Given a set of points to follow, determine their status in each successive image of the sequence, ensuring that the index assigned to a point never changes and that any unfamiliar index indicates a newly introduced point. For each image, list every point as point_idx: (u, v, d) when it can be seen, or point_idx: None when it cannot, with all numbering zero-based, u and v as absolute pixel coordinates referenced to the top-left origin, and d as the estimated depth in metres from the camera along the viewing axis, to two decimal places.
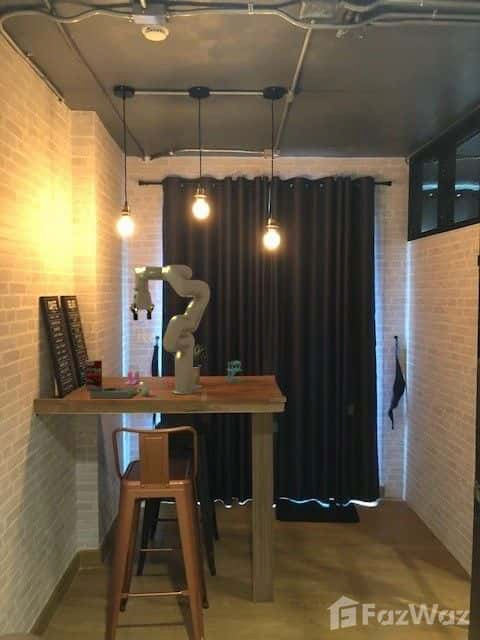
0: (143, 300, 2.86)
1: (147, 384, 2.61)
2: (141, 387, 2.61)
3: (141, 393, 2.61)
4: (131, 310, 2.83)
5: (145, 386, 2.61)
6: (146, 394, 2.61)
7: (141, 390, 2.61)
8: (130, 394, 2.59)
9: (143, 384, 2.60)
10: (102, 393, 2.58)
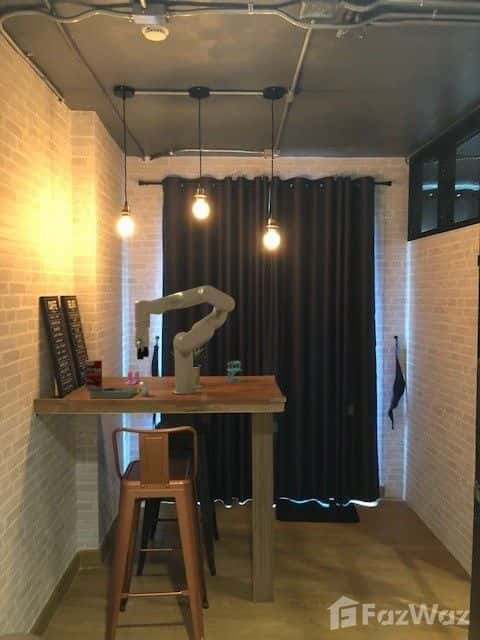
0: None
1: (147, 384, 2.61)
2: (141, 387, 2.61)
3: (141, 393, 2.61)
4: (147, 345, 2.69)
5: (145, 386, 2.61)
6: (146, 394, 2.61)
7: (141, 390, 2.61)
8: (130, 394, 2.59)
9: (143, 384, 2.60)
10: (102, 393, 2.58)
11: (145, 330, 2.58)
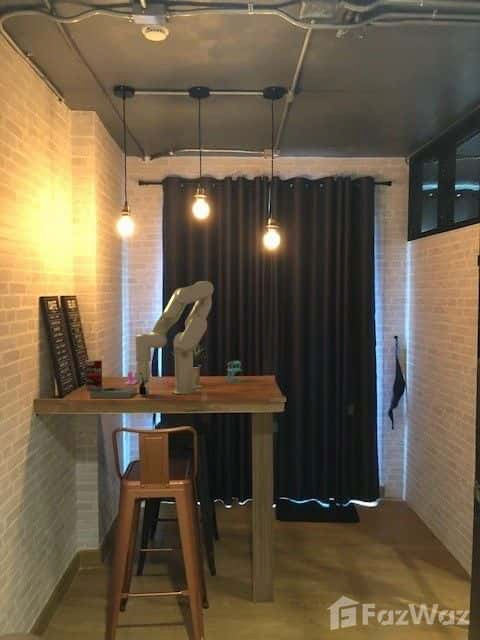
0: None
1: (147, 384, 2.61)
2: None
3: None
4: None
5: (145, 386, 2.61)
6: (146, 394, 2.61)
7: None
8: (130, 394, 2.59)
9: None
10: (102, 393, 2.58)
11: (146, 364, 2.59)
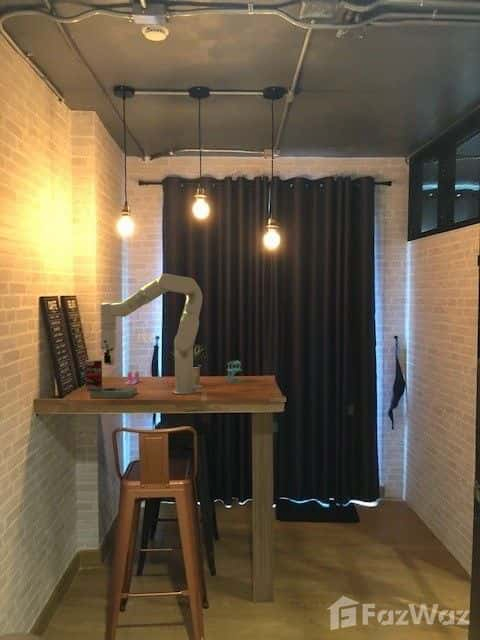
0: None
1: (112, 352, 2.62)
2: None
3: None
4: None
5: (110, 354, 2.61)
6: (111, 362, 2.62)
7: None
8: (130, 394, 2.59)
9: None
10: (102, 393, 2.58)
11: (111, 332, 2.60)
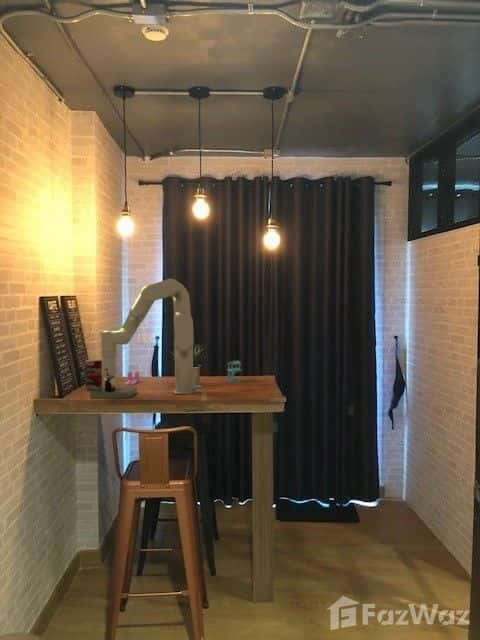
0: None
1: (113, 380, 2.63)
2: None
3: None
4: None
5: None
6: (112, 390, 2.63)
7: None
8: (130, 394, 2.59)
9: None
10: (102, 393, 2.58)
11: (111, 360, 2.61)
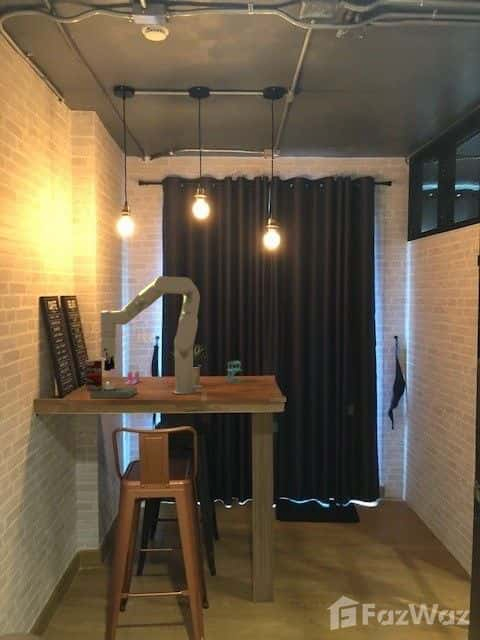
0: None
1: (113, 384, 2.63)
2: (107, 387, 2.62)
3: None
4: None
5: (111, 386, 2.62)
6: None
7: (107, 390, 2.62)
8: (130, 394, 2.59)
9: (109, 384, 2.62)
10: (102, 393, 2.58)
11: (111, 340, 2.60)
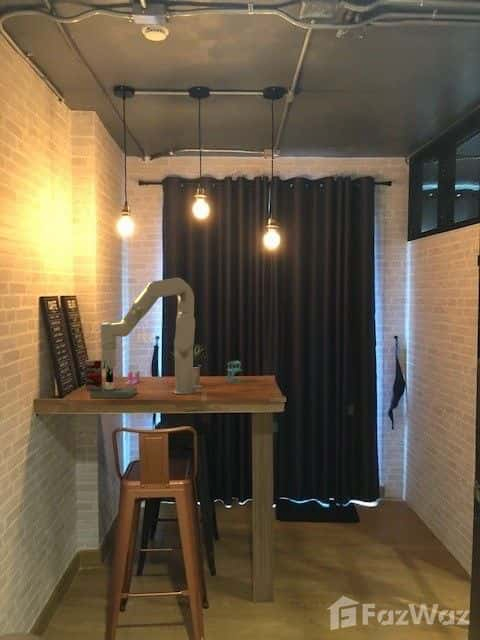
0: None
1: (113, 384, 2.63)
2: (107, 387, 2.62)
3: None
4: (111, 370, 2.67)
5: (111, 386, 2.62)
6: None
7: (107, 390, 2.62)
8: (130, 394, 2.59)
9: (109, 384, 2.62)
10: (102, 393, 2.58)
11: (111, 352, 2.60)
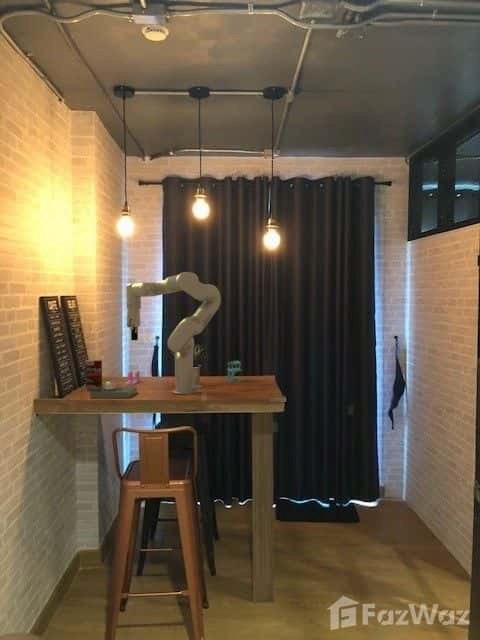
0: None
1: (113, 384, 2.63)
2: (107, 387, 2.62)
3: None
4: None
5: (111, 386, 2.62)
6: None
7: (107, 390, 2.62)
8: (130, 394, 2.59)
9: (109, 384, 2.62)
10: (102, 393, 2.58)
11: (136, 311, 2.73)
